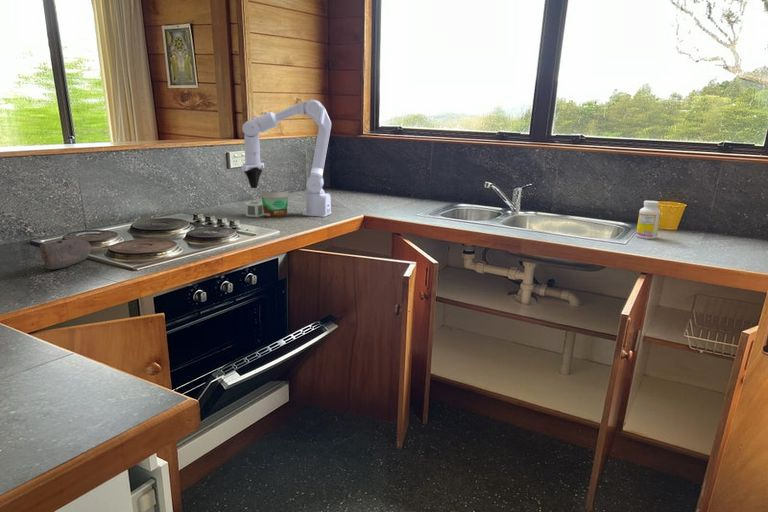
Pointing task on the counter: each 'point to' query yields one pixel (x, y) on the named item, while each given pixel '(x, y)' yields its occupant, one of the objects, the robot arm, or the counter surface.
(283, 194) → the food container
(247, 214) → the letter cube
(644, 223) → the supplement bottle
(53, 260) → the perforated stone tool
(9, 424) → the counter surface
